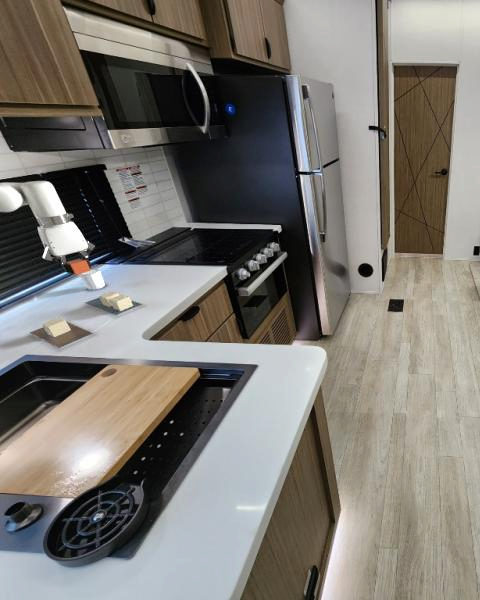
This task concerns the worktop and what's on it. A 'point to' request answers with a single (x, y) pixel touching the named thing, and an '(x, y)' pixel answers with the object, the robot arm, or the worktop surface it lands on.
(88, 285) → the white cup
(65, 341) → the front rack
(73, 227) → the robot arm
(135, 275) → the worktop surface
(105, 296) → the back tile
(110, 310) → the grey flat plate
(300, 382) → the worktop surface
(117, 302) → the back tile
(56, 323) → the front cream tile
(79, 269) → the orange cube
